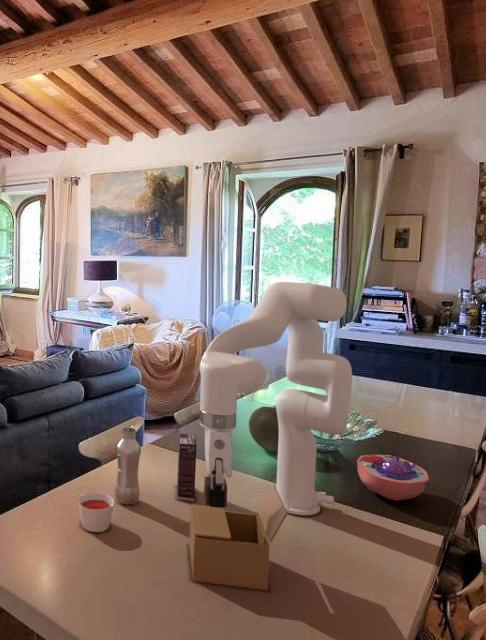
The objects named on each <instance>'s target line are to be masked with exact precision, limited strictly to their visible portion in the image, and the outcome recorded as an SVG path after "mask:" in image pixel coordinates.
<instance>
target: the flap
mask: <svg viewBox="0 0 486 640" xmlns="http://www.w3.org/2000/svg"><path fill="white" fill-rule="evenodd" d="M257 514H258V516H259V519H260V522H261V525H262V527H263V530H264V533H265V535H266V538H267V541H268V544H271V543H272V542H273V540H274V538H275V537H276V535H277V533H278V531H279V530H280V528H281V526H282V524H283V523H284V521H285V520H286V518H287V516H288V514H289V513H288V512H287V510H286V508H285V506H284V504H283V502H282V500H281V498H280V496H279V494H278V492H277V490H276V485H275V484H272V485H271V487H270V488H269V490H268V492H267V493H266V496H265V497H264V499H263V501H262V502H261V504H260V505H259V508H258V509H257Z"/></svg>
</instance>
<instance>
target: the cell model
mask: <svg viewBox="0 0 486 640" xmlns="http://www.w3.org/2000/svg"><path fill="white" fill-rule="evenodd" d="M356 471H357V474H358V476H359V479H360V482H361V483H362V484H363V485H364V487H366V488H367V489H368V490H369V491H370V492H372V493H375V494H376V495H379V496H381V497H383V498H384V499H387V500H390V501H393V502H399V501H406V500H411V499H415V498H417V497H419V496H420V495H421V494H423V493H424V492H425V490H426V485H427V482H428V481H429V480H430V479H429V475H428V472H427V471H426V470H425V469H424V468H422V467H421V466H419V465H417V464H416V463H415V462H411V461H409V460H406V459H404V458H402V457H400V456H399V455H396V456H393V455H392V454H377V453H376V454H365V455H360V456H359V457H358V458H357V461H356Z"/></svg>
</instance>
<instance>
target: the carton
mask: <svg viewBox="0 0 486 640" xmlns="http://www.w3.org/2000/svg"><path fill="white" fill-rule="evenodd" d="M189 520H190V521H189V523H190V524H189V555H190V565H191V575H192V576H191V577H192V581H193V582H198V583H206V584H214V585H222V586H230V587H238V588H245V589H246V588H247V589H253V590H261V591H262V590H263V591H268V589H269V588H268V585H269V567H270V564H269V563H270V543H269V541H268V538H267V536H266V533H265V530H264V528H263V525H262V522H261V520H260V517H259V514H258V513H247V512H238V511H229V510H225V507H224V508H218V507H210V506H209V505H201V504H193V503H192V504H190V519H189Z"/></svg>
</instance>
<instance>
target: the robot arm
mask: <svg viewBox="0 0 486 640" xmlns="http://www.w3.org/2000/svg"><path fill="white" fill-rule="evenodd" d="M347 305H348V301H347V296H346V295H345V292H344V291H343V290H341V289H340V288H339V287H334V286H328V285H322V284H317V283H309V282H308V283H307V282H292V281H291V282H290V281H278V282H274V283H272V284H271V285H269V286H268V287H267V289H266V290H265V291H264V293H263V295H262V297H261V298H260V299H259V301H258V303H257V304H256V306H255V307H254V309H253V311H252V312H251V313H250V315H249V316H248V318H246V319H245V320H242V321H240V322H239V323H236V324H234V325H232V326H230V327H229V328H227V329H225V330H223V331H222V332H220V333H219V334H217V335H216V336H215V337H214V338H213V339H212V341H211V343H210V344H209V345H208V347H207V348H206V350H205V351H204V353H203V355H202V357H201V360H200V363H199V373H200V395H199V396H200V398H199V425H200V426H201V427H203V428H204V457H205V458H204V459H205V465H206V471H207V477H211V478H210V487H209V505H208V506H210V507H218V508H224V509H225V507H224V503H225V489H224V478H225V477H226V478H229V479H230V478H231V477H233V476H232V475H233V438H232V437H233V436H232V431H234V430H235V429H237V428H236V427H237V412H238V411H237V409H238V394H243V393H244V394H245V393H246V394H247V393H253V392H256V391H258V390H259V389H260V388H262V387H263V385H264V383H265V381H266V378H267V372H266V368H265V366H264V364H263V363H262V362H261V361H259V360H257V359H256V358H252V357H250V356H249V357H248V356H243V355H238V354H236V353H239V352H242V351H245V350H251V349H257V348H263V347H266V346H269V345H272V344H275V343H278V342H279V341H280V340H281V339H282V337H283V335H284V333H285V332H286V330H288V341H287V351H286V361H285V375H286V379H287V380H288V381H289V382H291V383H292V384H296V385H300V386H304V387H309V388H314V389H318V390H323V391H325V392H326V395H325V394H321V393H316V392H312V391H307V390H303V389H298V388H287V389H283V390H282V391H281V392H279V393H278V395H277V397H276V400H275V408H276V411H277V417H278V426H279V440H278V452H277V465H276V466H277V467H276V484H275V488H276V490H277V492H278V494H279V496H280V498H281V500H282V502H283V504H284V506H285V508H286V510H287V512H288V514H292V515H297V516H304V517H305V516H314V515H317V514H318V513H320V511H321V504H322V503H326V504H333V505H334V503H335V497H334V496H333V495H327V493H326V491H325V492H324V491H317V490H316V469H317V450H318V443H317V439H316V438H315V435H314V433H313V432H312V431H315V432H319V433H323V434H327V435H332V436H339V435H342V434H343V433H344V432H345V431H346V430H347V426H348V423H349V416H350V406H351V396H352V385H353V370H352V366H351V363H350V361H349V359H347V358H346V357H344V356H342V355H338V354H333V353H326V352H324V350H323V348H324V347H323V346H324V331H323V328H322V327H321V325H320V323H319V321H323V322H337V321H339V320H341V319H342V318H343V316H344V315H345V313H346V311H347V307H348V306H347ZM213 477H215V478H216V479H215V480H214V481H213Z"/></svg>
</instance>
